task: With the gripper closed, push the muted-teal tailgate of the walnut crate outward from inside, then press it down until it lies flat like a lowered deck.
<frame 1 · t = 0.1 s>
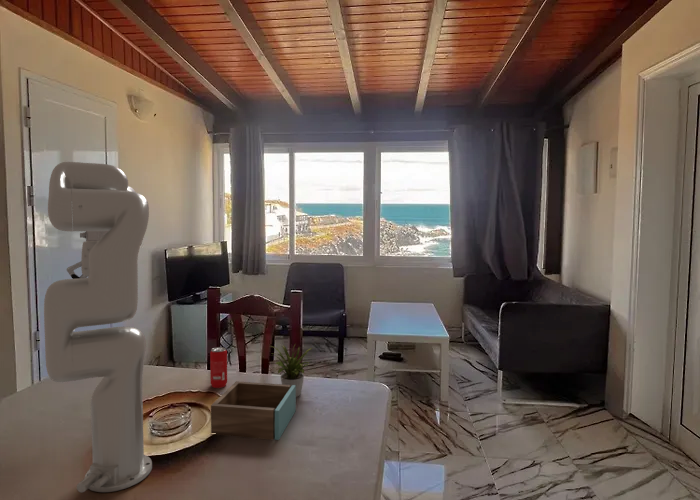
hand: (102, 294, 127), 31 cm above the table, tool pointing down, fingers open, 9 cm apart
crate: (253, 423, 115), on the table
beverage can: (219, 386, 140), on the table
tailgate: (285, 410, 114), point 4 cm above the table, hinge at 0.0°
house plant: (287, 396, 133), on the table
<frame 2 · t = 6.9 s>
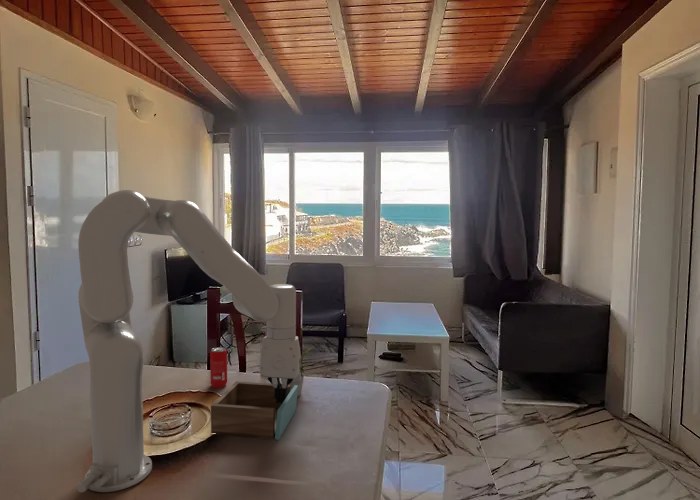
hand: (280, 400, 114), 7 cm above the table, tool pointing down, fingers closed
tailgate: (287, 410, 114), point 4 cm above the table, hinge at 5.4°, touching gripper
everything else where it was.
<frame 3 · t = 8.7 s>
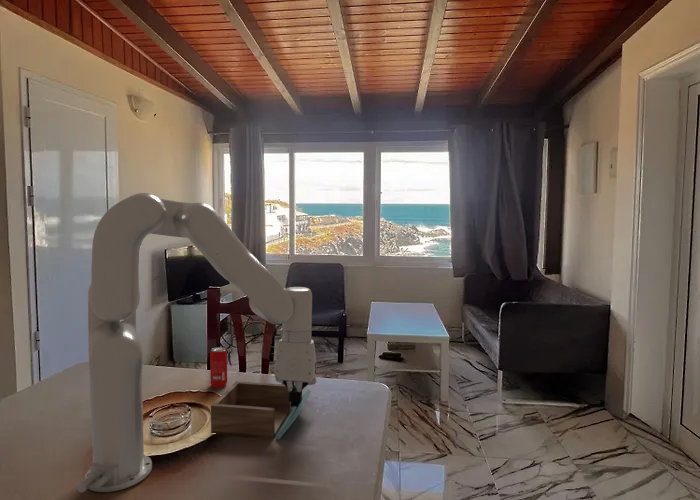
hand: (295, 404, 113), 6 cm above the table, tool pointing down, fingers closed
tailgate: (294, 412, 113), point 4 cm above the table, hinge at 36.7°, touching gripper
everything else where it was.
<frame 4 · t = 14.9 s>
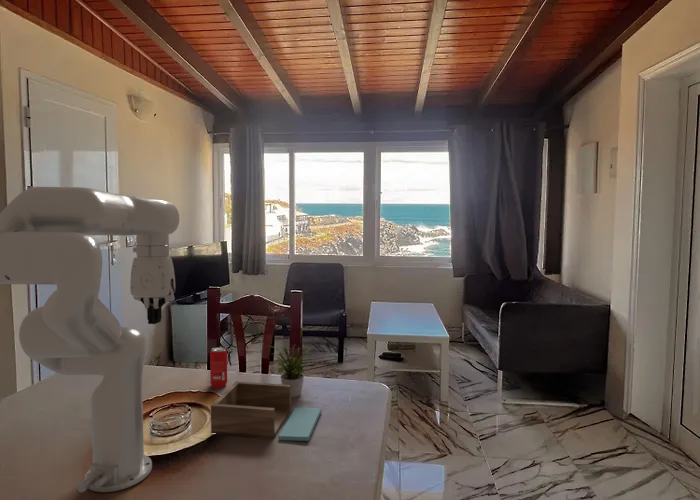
hand: (154, 322, 112), 27 cm above the table, tool pointing down, fingers closed
tailgate: (301, 422, 113), point 1 cm above the table, hinge at 86.8°
everything else where it was.
at the end: tailgate at +87° (first picture: +0°); house plant moved 0.2 cm from its start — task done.
